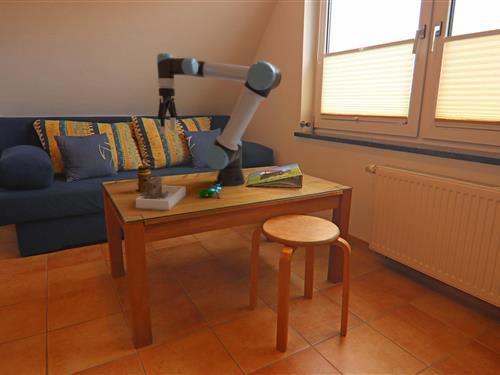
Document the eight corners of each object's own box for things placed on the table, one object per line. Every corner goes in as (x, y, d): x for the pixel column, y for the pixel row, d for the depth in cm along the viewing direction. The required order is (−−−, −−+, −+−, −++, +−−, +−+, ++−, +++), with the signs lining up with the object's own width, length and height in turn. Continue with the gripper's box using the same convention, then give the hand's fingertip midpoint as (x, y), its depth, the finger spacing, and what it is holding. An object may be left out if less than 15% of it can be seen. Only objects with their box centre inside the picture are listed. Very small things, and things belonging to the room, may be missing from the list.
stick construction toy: (223, 189, 163) (221, 178, 157) (228, 200, 159) (226, 190, 153) (199, 197, 161) (196, 187, 155) (203, 208, 157) (200, 199, 151)
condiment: (152, 192, 163) (150, 168, 160) (133, 193, 161) (131, 168, 158) (152, 188, 170) (151, 164, 167) (134, 189, 168) (133, 165, 165)
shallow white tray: (185, 195, 160) (185, 186, 159) (169, 210, 139) (168, 200, 138) (156, 193, 162) (156, 184, 160) (136, 208, 141) (135, 198, 139)
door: (164, 196, 155) (163, 177, 153) (155, 203, 146) (154, 182, 143) (155, 196, 156) (154, 176, 153) (146, 202, 146) (145, 182, 144)
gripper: (168, 88, 180) (170, 129, 185) (148, 87, 156) (151, 134, 161) (182, 88, 179) (183, 129, 184) (164, 87, 155) (166, 134, 160)
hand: (168, 132), depth 173 cm, fingers open, 13 cm apart
